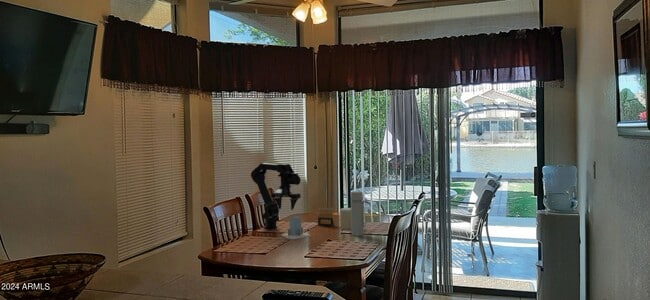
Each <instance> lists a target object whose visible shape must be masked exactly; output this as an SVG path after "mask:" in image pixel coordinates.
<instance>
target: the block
mask: <svg viewBox="0 0 650 300" xmlns="http://www.w3.org/2000/svg"><path fill="white" fill-rule="evenodd" d="M288 221H289V223H288V227H289V229H290V234H291V235H298V229H300V235H301V227H302V217H301V216H298V215H295V216H289V217H288Z"/></svg>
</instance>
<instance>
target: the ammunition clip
mask: <svg viewBox="0 0 650 300" xmlns="http://www.w3.org/2000/svg"><path fill="white" fill-rule="evenodd" d="M317 215H318V216H317V226H321V227H322V226H324V227H335V218H334V208H333V207H329V208H328V207H326V208H325V206H324V207H323V206H321V207H320V206H319V207H318V212H317Z"/></svg>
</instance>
